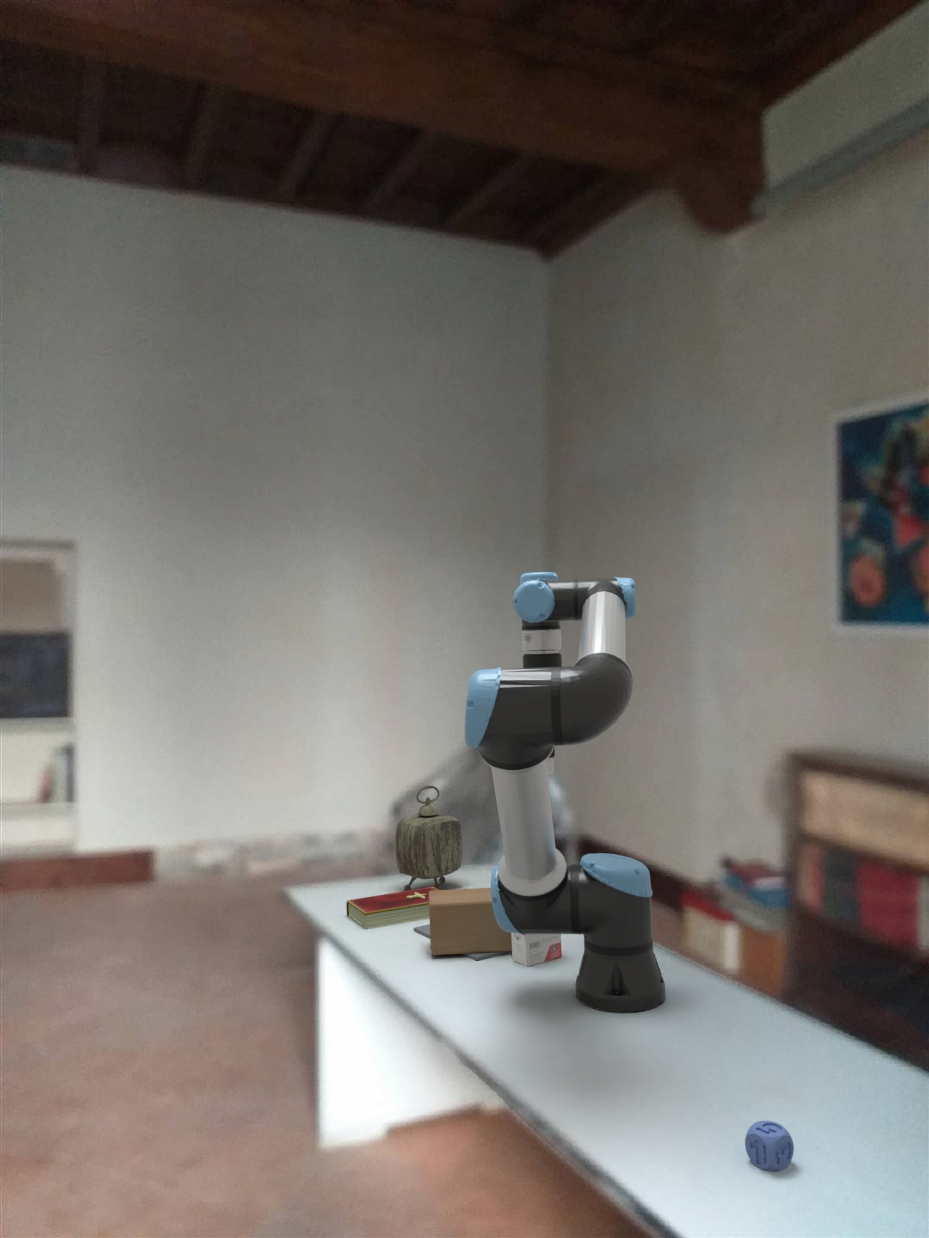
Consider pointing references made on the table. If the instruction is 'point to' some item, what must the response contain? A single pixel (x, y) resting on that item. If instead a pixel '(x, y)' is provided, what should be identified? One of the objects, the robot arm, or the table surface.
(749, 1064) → the table surface
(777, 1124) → the decorative dice
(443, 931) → the wooden block
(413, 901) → the hardcover book
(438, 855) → the tabletop clock
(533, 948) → the ink cartridge box
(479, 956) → the mat
